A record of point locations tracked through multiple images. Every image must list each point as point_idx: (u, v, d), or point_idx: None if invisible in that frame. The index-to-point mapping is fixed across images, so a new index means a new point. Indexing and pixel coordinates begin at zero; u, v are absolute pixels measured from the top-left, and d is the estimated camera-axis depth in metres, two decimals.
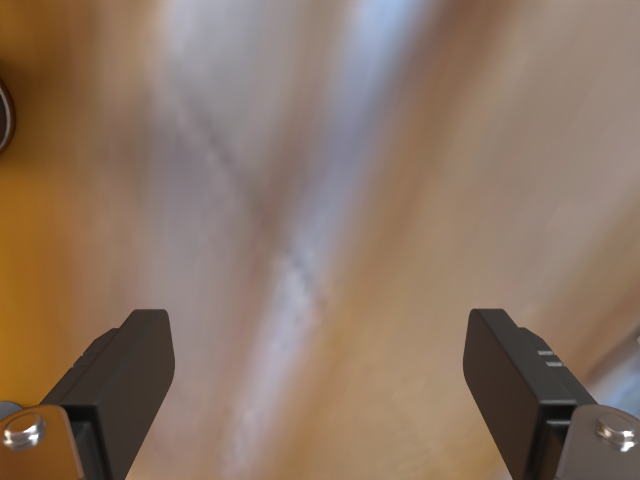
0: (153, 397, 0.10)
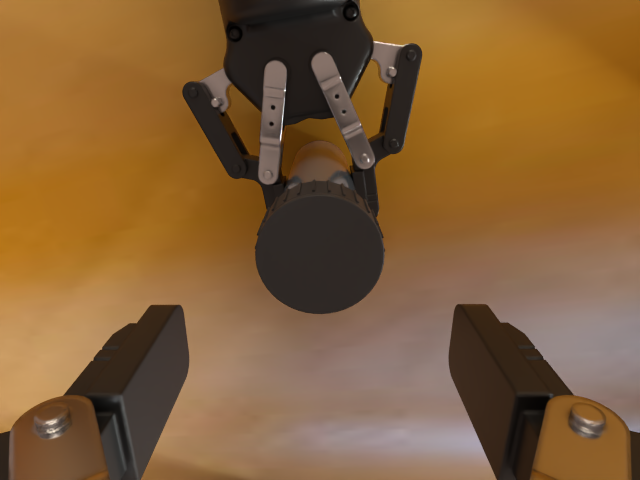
0: (170, 390, 0.10)
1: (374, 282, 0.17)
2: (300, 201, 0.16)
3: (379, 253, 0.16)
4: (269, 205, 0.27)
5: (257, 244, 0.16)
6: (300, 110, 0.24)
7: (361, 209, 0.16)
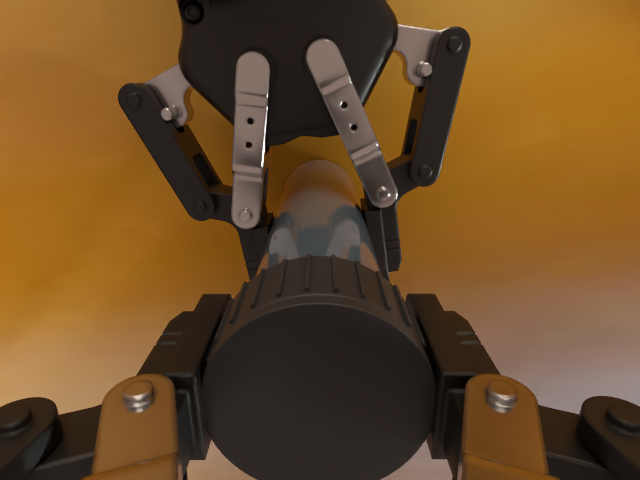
0: None
1: (417, 447, 0.09)
2: (281, 314, 0.08)
3: (428, 401, 0.09)
4: (248, 255, 0.19)
5: (202, 386, 0.09)
6: (290, 125, 0.17)
7: (397, 327, 0.08)
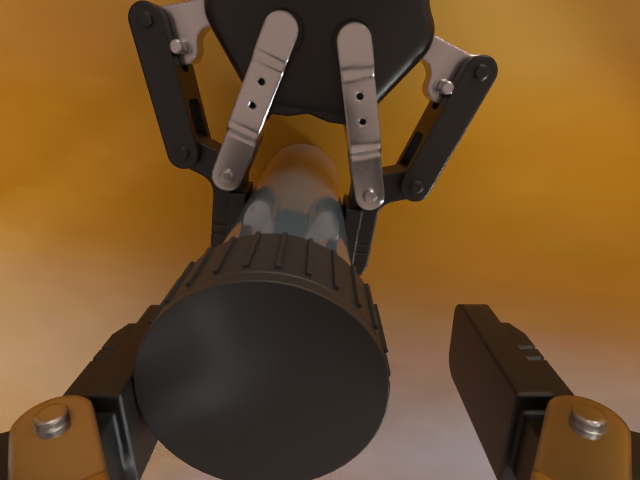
0: None
1: (382, 371, 0.08)
2: (150, 339, 0.08)
3: (347, 324, 0.08)
4: (217, 218, 0.18)
5: (158, 437, 0.09)
6: (300, 99, 0.16)
7: (252, 279, 0.08)
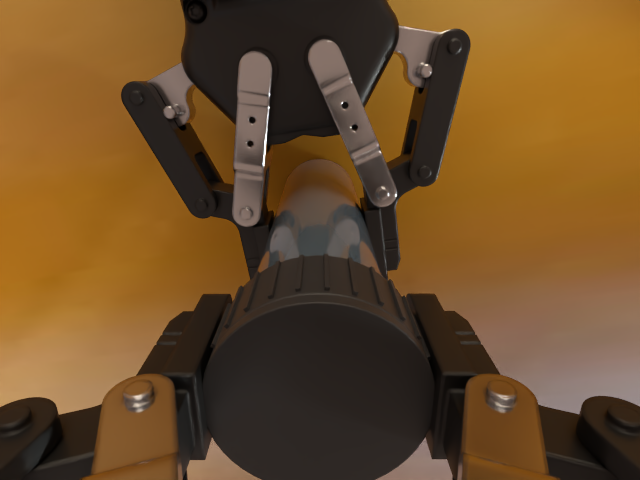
0: None
1: (429, 378, 0.09)
2: (215, 362, 0.09)
3: (395, 336, 0.08)
4: (249, 253, 0.19)
5: (224, 451, 0.10)
6: (291, 124, 0.17)
7: (306, 302, 0.08)
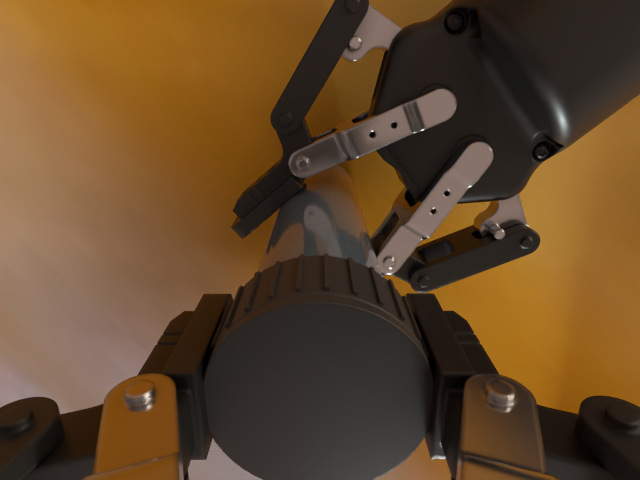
0: None
1: (429, 377, 0.09)
2: (216, 361, 0.09)
3: (395, 336, 0.08)
4: (262, 185, 0.18)
5: (224, 450, 0.10)
6: (403, 157, 0.18)
7: (306, 302, 0.08)
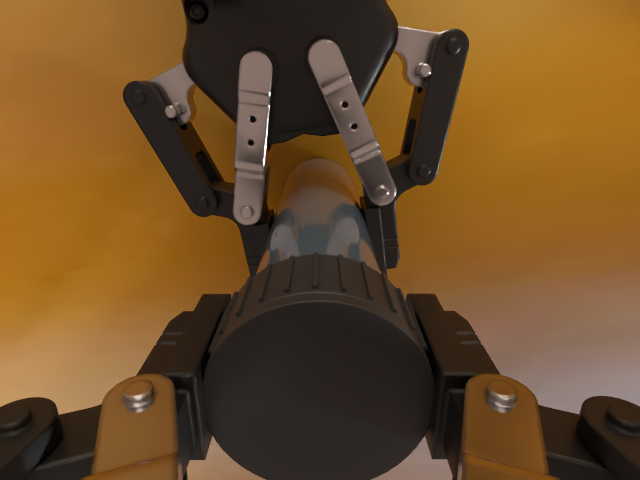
0: None
1: (373, 317, 0.08)
2: (215, 429, 0.09)
3: (309, 310, 0.08)
4: (249, 251, 0.19)
5: None
6: (291, 123, 0.17)
7: (223, 340, 0.09)
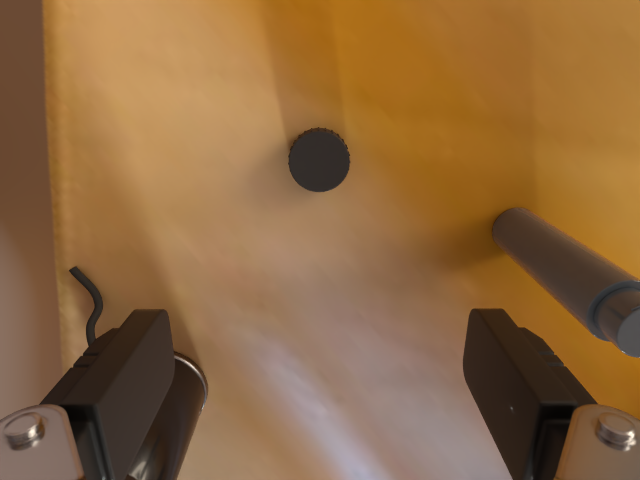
0: (153, 397, 0.10)
1: (332, 135, 0.34)
2: (291, 170, 0.35)
3: (317, 133, 0.34)
4: None
5: (312, 190, 0.36)
6: None
7: (295, 143, 0.35)
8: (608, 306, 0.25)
